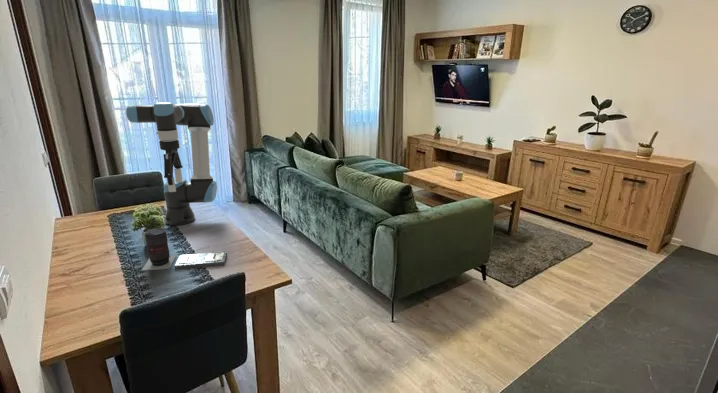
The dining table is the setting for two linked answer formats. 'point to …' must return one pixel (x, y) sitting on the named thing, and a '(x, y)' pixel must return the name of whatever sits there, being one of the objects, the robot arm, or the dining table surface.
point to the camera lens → (157, 246)
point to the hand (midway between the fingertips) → (176, 186)
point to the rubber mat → (150, 267)
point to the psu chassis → (201, 260)
